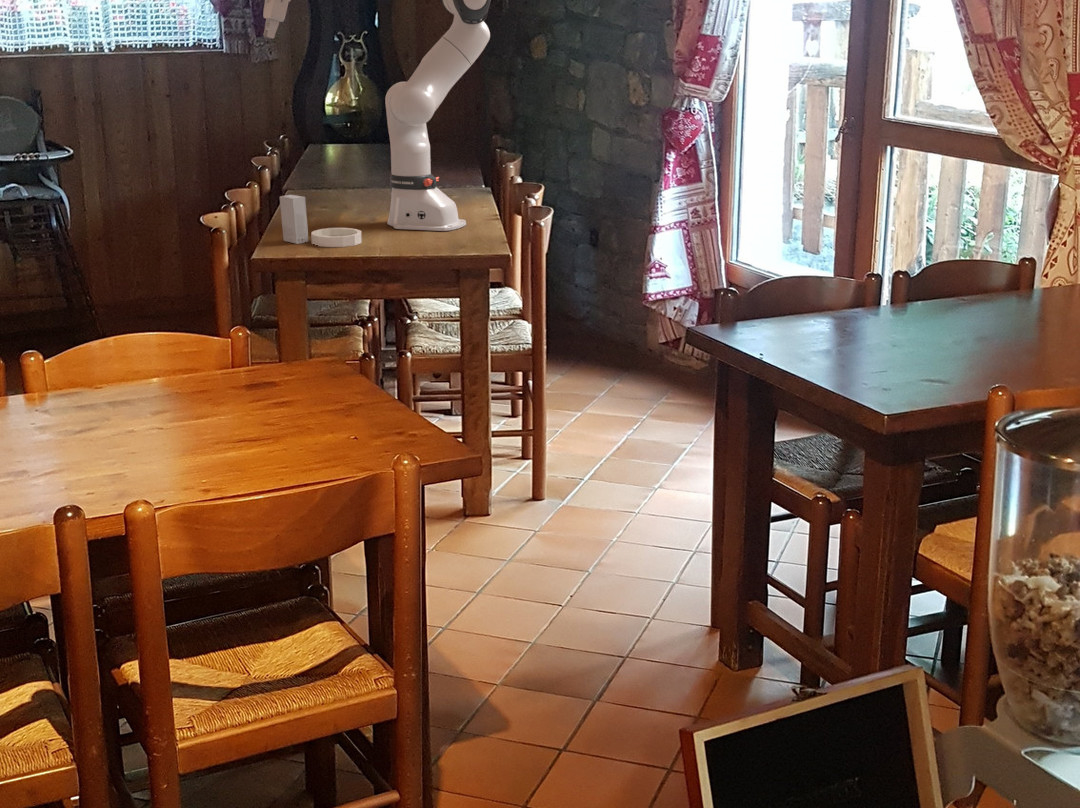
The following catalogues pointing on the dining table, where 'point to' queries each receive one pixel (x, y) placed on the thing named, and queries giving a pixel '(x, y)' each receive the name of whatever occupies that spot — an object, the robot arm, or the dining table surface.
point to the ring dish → (336, 237)
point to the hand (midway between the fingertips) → (268, 37)
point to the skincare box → (294, 219)
